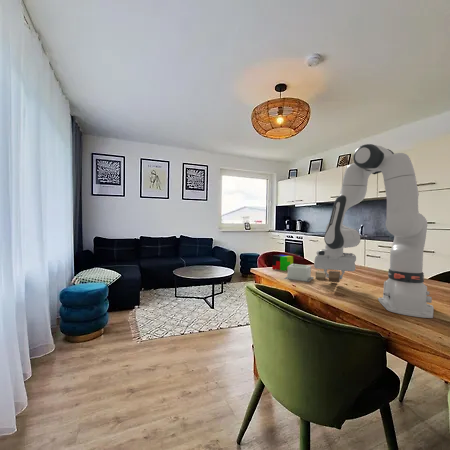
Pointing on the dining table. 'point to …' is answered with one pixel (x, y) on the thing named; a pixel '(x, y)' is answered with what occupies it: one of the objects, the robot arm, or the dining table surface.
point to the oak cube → (320, 275)
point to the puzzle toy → (281, 262)
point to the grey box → (299, 272)
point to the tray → (302, 280)
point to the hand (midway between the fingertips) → (334, 278)
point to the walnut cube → (334, 276)
